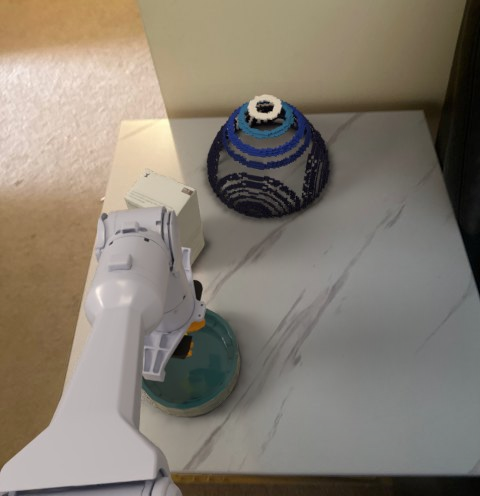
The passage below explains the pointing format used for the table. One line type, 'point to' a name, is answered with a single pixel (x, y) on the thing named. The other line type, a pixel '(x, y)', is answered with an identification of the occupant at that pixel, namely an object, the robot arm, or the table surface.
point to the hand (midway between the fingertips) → (181, 338)
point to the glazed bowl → (199, 372)
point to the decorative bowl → (277, 112)
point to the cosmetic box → (170, 205)
